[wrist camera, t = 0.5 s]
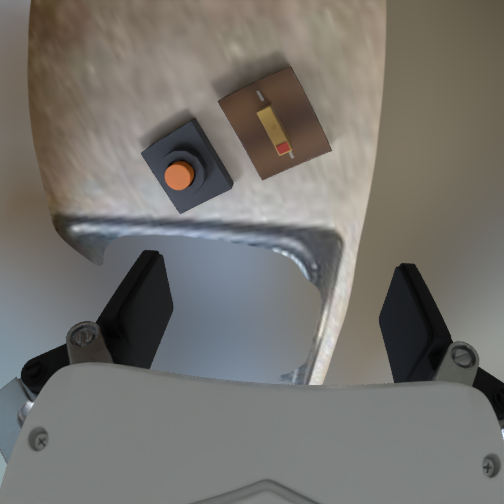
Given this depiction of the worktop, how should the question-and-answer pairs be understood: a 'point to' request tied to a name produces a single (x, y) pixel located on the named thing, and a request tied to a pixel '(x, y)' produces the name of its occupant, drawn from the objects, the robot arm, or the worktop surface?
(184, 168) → the bell button
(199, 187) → the doorbell
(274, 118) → the lock knob
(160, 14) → the worktop surface
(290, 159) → the plate
